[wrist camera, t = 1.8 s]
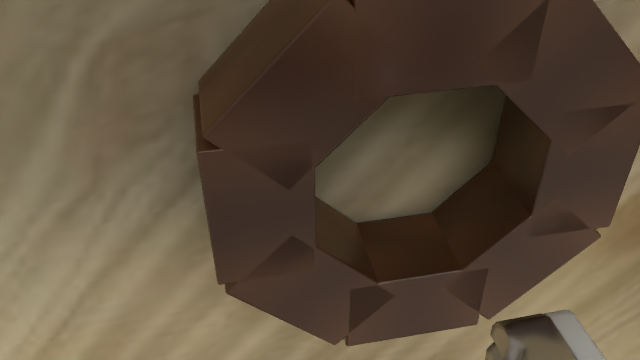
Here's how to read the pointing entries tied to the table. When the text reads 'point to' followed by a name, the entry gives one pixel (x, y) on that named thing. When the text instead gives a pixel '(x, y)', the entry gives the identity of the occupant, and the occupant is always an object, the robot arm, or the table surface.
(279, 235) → the ring
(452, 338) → the table surface
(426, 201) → the table surface
